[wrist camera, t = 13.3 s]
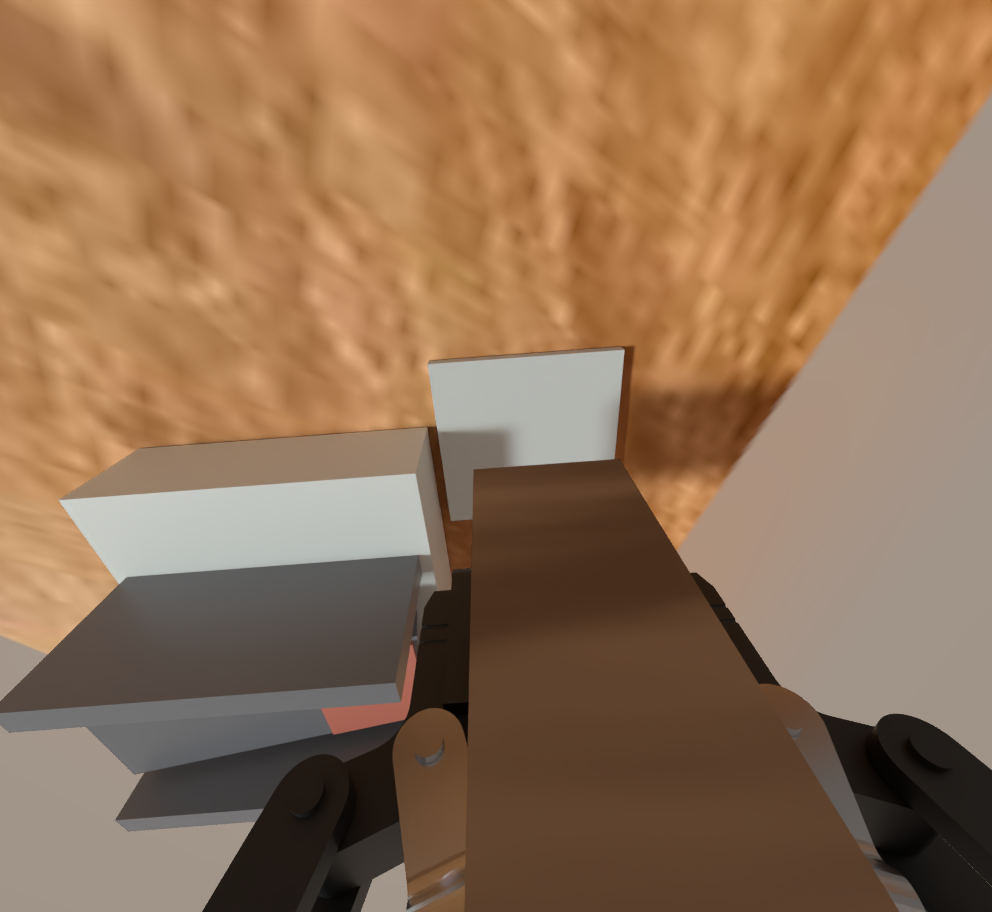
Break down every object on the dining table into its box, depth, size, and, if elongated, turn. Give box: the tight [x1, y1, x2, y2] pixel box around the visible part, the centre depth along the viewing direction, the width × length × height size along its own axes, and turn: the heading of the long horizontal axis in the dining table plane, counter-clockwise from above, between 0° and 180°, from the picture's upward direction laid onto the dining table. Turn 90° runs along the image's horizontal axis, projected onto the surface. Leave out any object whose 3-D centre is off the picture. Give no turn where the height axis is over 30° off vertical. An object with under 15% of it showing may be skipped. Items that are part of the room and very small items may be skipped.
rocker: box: [86, 610, 421, 774], centre depth 16 cm, size 5×12×1 cm, turn 94°
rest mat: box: [428, 347, 625, 521], centre depth 19 cm, size 8×8×1 cm
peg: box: [464, 459, 899, 912], centre depth 8 cm, size 4×4×12 cm
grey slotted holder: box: [0, 427, 452, 831], centre depth 18 cm, size 16×13×9 cm
